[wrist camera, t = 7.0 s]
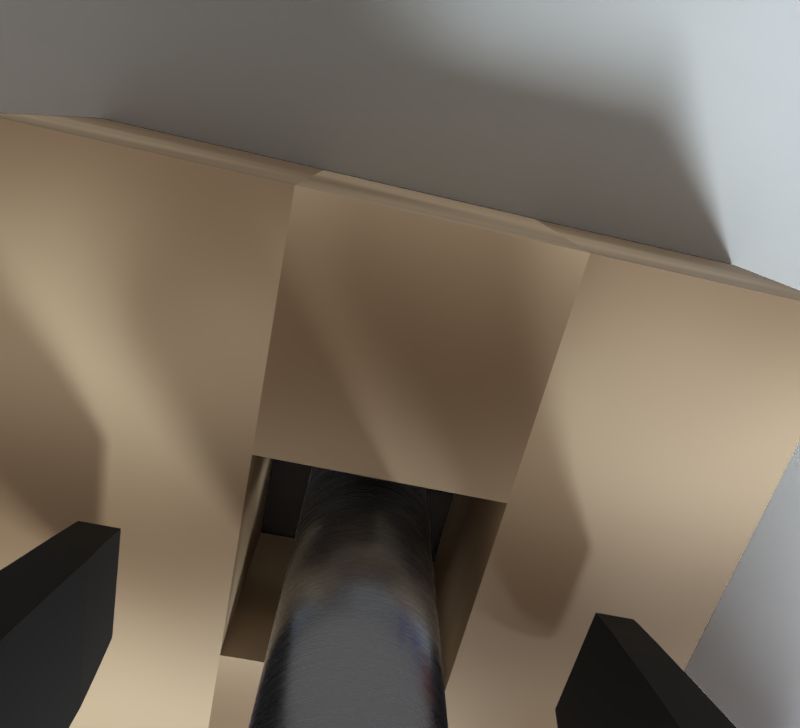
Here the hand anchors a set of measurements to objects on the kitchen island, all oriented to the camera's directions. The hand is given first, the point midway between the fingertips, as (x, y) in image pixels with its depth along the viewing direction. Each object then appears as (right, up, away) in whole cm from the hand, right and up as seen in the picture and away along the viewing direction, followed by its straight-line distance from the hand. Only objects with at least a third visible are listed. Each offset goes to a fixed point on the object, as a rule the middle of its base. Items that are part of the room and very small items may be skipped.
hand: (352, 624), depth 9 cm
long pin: (0, +2, +4) cm, 4 cm away
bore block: (0, +2, +4) cm, 4 cm away
